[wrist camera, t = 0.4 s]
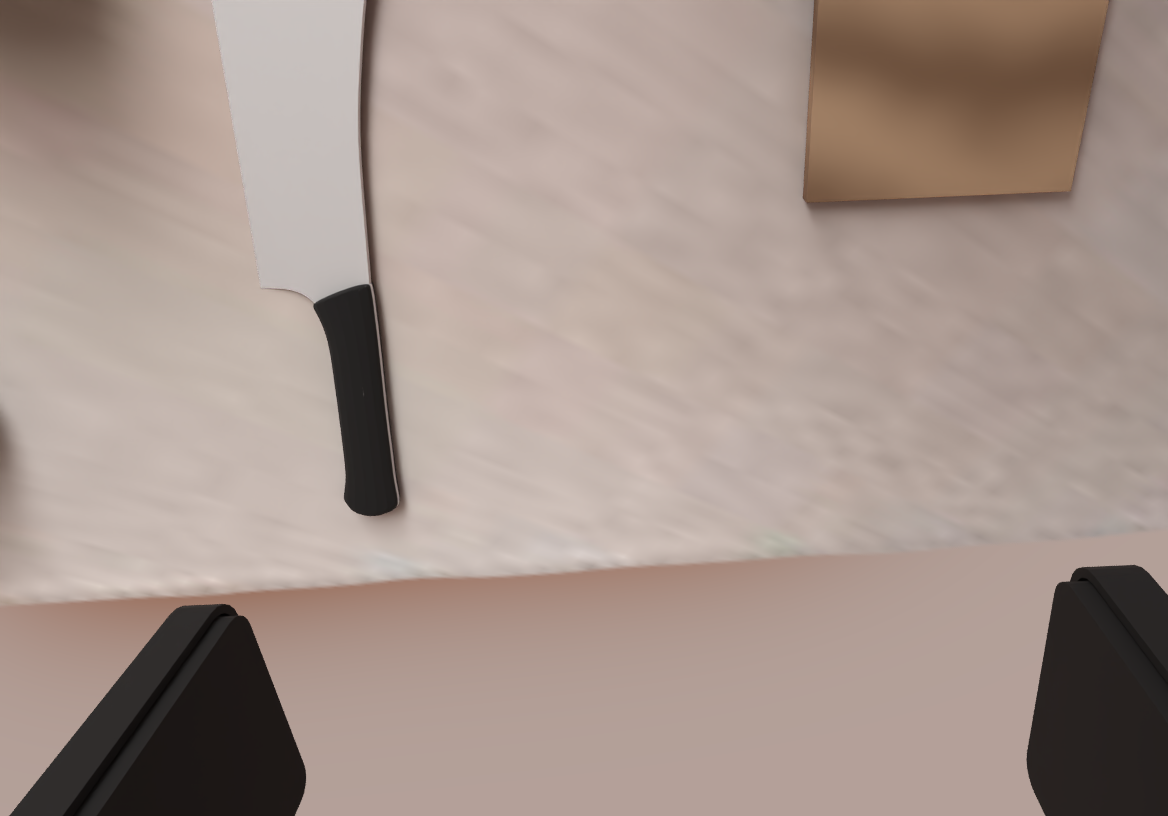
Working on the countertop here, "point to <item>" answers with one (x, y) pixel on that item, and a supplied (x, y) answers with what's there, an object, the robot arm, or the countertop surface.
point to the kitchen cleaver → (314, 200)
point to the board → (947, 96)
